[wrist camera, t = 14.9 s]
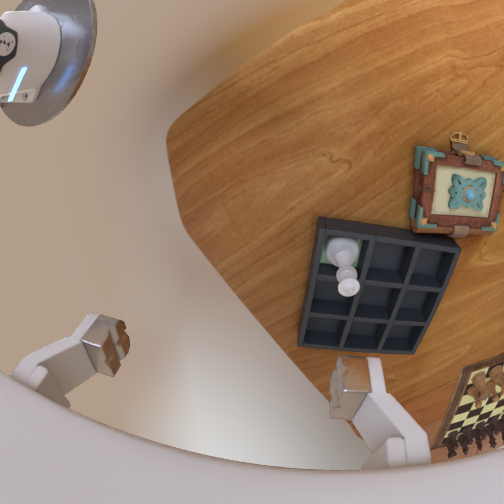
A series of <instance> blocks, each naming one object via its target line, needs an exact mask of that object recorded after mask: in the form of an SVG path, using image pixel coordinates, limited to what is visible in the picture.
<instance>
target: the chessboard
mask: <svg viewBox="0 0 504 504" xmlns="http://www.w3.org/2000/svg"><path fill="white" fill-rule="evenodd" d="M493 431H495V432H494V434H495V435H497V434H499V432H500V431H501V433H502V439H503V441H504V353H503V354H501V355H498V356H495V357H492V358H489V359H486V360H483V361H480V362H477V363H474V364H470V365H467V366H464V367H462V370H461V373H460V376H459V379H458V382H457V385H456V388H455V391H454V394H453V396H452V399H451V402H450V404H449V407H448V410H447V412H446V415H445V417H444V420H443V422H442V424H441V427H440V429H439V431H438V433H437V436H436V438H435V440H434V442H433V444H432V446H431V449H430V450H433V449H437V448H441V447H444V446H447V448H448V451H449V454H448V458H450V457H451V458H452V457H453V456H456V455H457V454H456V452H455V451H454V449H457V448H458V447H459V445H458V444H457V443H458V442H460V445H461V447H462V449H463V453H464V454H465V456H466V455H467V452H468V449H469V448H468V447H467V445H468V444H469V445H470V444H472V443H473V439H472V438H473V437H474V438H475V439H476V442H475V443H476V444H477V448H478V449H479V450H480V451H481V448H482V444H481V441H482V440H484V439H485V438H486V434H487V435H488V436H489V438H490V441H489V443H491V446H490V448H491V447H493V448H495V446H496V444H497V443H495V440H496V438H494V436H493ZM485 433H486V434H485ZM480 436H481V439H480ZM503 444H504V443H503Z"/></svg>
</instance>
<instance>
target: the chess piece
mask: <svg viewBox="0 0 504 504" xmlns="http://www.w3.org/2000/svg"><path fill="white" fill-rule="evenodd" d="M325 253H326V257H327V259H328V261H329V262H330V263H331V264H333V265H335V266H337V267H339V269H338V271H337V273H336V277H337V280H338V281H339V284H338V291H339V292H340V294H342V295H343V296H353V295H355V294H356V293H357V292H358V291H359V288H360V285H359V282H358V280H357V279H356V278H357V271H356V269H355V268H354V267H352V266H351V264H352V263H353V262H354V261H355V260H356V259H357V257H358V254H359V248H358V243H357V241H356V239H352V238H345V237H337V236H330V237H329V238H328V239H327V241H326V244H325Z"/></svg>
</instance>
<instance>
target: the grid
mask: <svg viewBox="0 0 504 504" xmlns="http://www.w3.org/2000/svg"><path fill="white" fill-rule="evenodd" d="M330 236H337V237H345V238H352V239H356V241H357V243H358V248H359V254H358V257H357V259H356V260H355V261H354V262H353V263H352V264H351V266H352V267H354V268H355V269H356V271H357V278H356V279H357V280H358V282H359V285H360V288H359V291H358V292H357V293H356V294H355V295H353V296H343V295H342V294H340V292H339V291H338V284H339V281H338V280H337V277H336V273H337V271H338V269H339V267H337V266H335V265H333V264H331V263H330V262H329V261H328V259H327V257H326V253H325V244H326V241H327V239H328V238H329V237H330ZM460 252H461V248H460V247H459V245H458V244H457V243H456V242H455V241H454V239H453V238H452V237H449V236H444V235H438V234H432V233H418V232H413V230H408V229H402V228H395V227H389V226H382V225H376V224H369V223H362V222H355V221H347V220H340V219H333V218H325V217H318V221H317V228H316V234H315V241H314V247H313V253H312V259H311V265H310V271H309V276H308V282H307V287H306V293H305V298H304V304H303V309H302V314H301V319H300V324H299V329H298V341H297V346H300V347H309V348H319V349H329V350H340V351H352V352H367V353H386V354H412V355H413V354H414V353H415V351H416V349H417V347H418V346H419V344H420V342H421V340H422V338H423V336H424V334H425V332H426V330H427V328H428V326H429V324H430V322H431V320H432V318H433V316H434V314H435V312H436V310H437V308H438V305H439V303H440V301H441V299H442V297H443V294H444V292H445V290H446V287H447V285H448V283H449V280H450V278H451V275H452V273H453V270H454V268H455V265H456V262H457V260H458V257H459V254H460Z"/></svg>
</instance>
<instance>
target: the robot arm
mask: <svg viewBox="0 0 504 504" xmlns="http://www.w3.org/2000/svg"><path fill="white" fill-rule="evenodd" d="M60 43H61V32H60V27H59V24H58V22H57V20H56V19H55V18H54V17H53V16H52V15H50V14H47V13H46V12H45V10H44V8H43V7H42V6H41V5H35V6H33V7H32V8H31V9H30V10H28V11H9V12H5V13H4V14H3V15H2V16H0V102H19V103H32V102H35V100H36V99H37V96H38V94H39V91H40V88H41V86H42V85H43V83H44V82H45V81H46V79H47V78H48V76H49V75H50V73H51V72H52V70H53V68H54V65H55V63H56V60H57V57H58V54H59V50H60ZM125 329H126V326H125V323H124V321H121V320H118V319H114V318H111V317H108V316H104V315H100V314H97V313H94V312H92V313H89V314H88V315H87V316H86V318H85V319H84V320H83V321H82V323H81V324H80V325H79V327H78V328H77V329H76V330H75V331H74V333H73V334H72V335H71V337H65V338H63V339H61V340H59V341H56V342H54V343H52V344H50V345H48V346H46V347H44V348H41V349H39V350H38V351H35V352H33V353H31V354H29V355H26V356H25V357H24V358H23V359H22V360H21V362H20V363H19V364H18V366H17V367H16V368H15V370H14V371H13V372H12V374H11V375H10V376H9V375H7V374H5V373H4V372H2V371H1V370H0V504H504V448H500V449H497V450H493V451H490V452H486V453H482V454H478V455H474V456H470V457H465V458H461V459H456V460H450V461H445V462H439V463H433V464H432V463H431V456H430V449H429V443H428V437H427V433H426V432H425V431H424V430H423V429H422V428H421V427H420V426H419V425H418V424H417V422H416V421H415V420H414V419H413V418H412V417H411V416H410V415H409V414H408V412H407V411H406V410H405V409H404V408H403V407H402V406H401V405H400V404H399V402H398V401H397V400H396V399H395V398H394V397H393V396H392V395H391V394H390V393H386V387H385V381H384V375H383V370H382V364H381V360H380V358H374V357H357V356H341V355H340V356H339V357H338V359H337V362H336V366H337V368H336V369H334V370H333V373H332V376H331V380H330V395H331V396H332V399H331V402H330V418H331V419H346V420H352V422H353V424H354V425H355V427H356V429H357V430H358V432H359V433H360V435H361V436H362V438H363V440H364V441H365V443H366V444H367V446H368V447H369V449H370V451H371V452H372V454H373V455H372V456H371V457H370V458H369V460H367V461H366V462H365V463H364V464H363V465H362V467H361V470H313V469H296V468H285V467H276V466H266V465H259V464H252V463H246V462H239V461H234V460H228V459H223V458H217V457H213V456H208V455H203V454H199V453H194V452H190V451H186V450H182V449H178V448H175V447H171V446H168V445H164V444H161V443H158V442H154V441H151V440H148V439H145V438H142V437H139V436H136V435H133V434H130V433H127V432H124V431H122V430H119V429H116V428H114V427H111V426H108V425H106V424H103V423H101V422H98V421H96V420H94V419H91V418H89V417H87V416H84V415H82V414H80V413H77V412H75V411H73V410H71V409H69V407H70V403H69V401H68V400H67V398H66V397H65V396H64V395H65V394H67V393H68V392H70V391H71V390H73V389H74V388H75V387H77V386H79V385H80V384H82V383H83V382H84V381H86V380H87V379H89V378H90V377H92V376H93V375H95V374H96V373H97V372H98V373H101V374H104V375H107V376H111V377H114V376H115V374H116V373H117V371H118V370H119V368H120V366H121V364H120V360H122V359H124V358H125V357H126V355H127V354H128V351H129V348H130V339H129V336H128V335H127V334H126V333H125V332H124V330H125Z"/></svg>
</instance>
